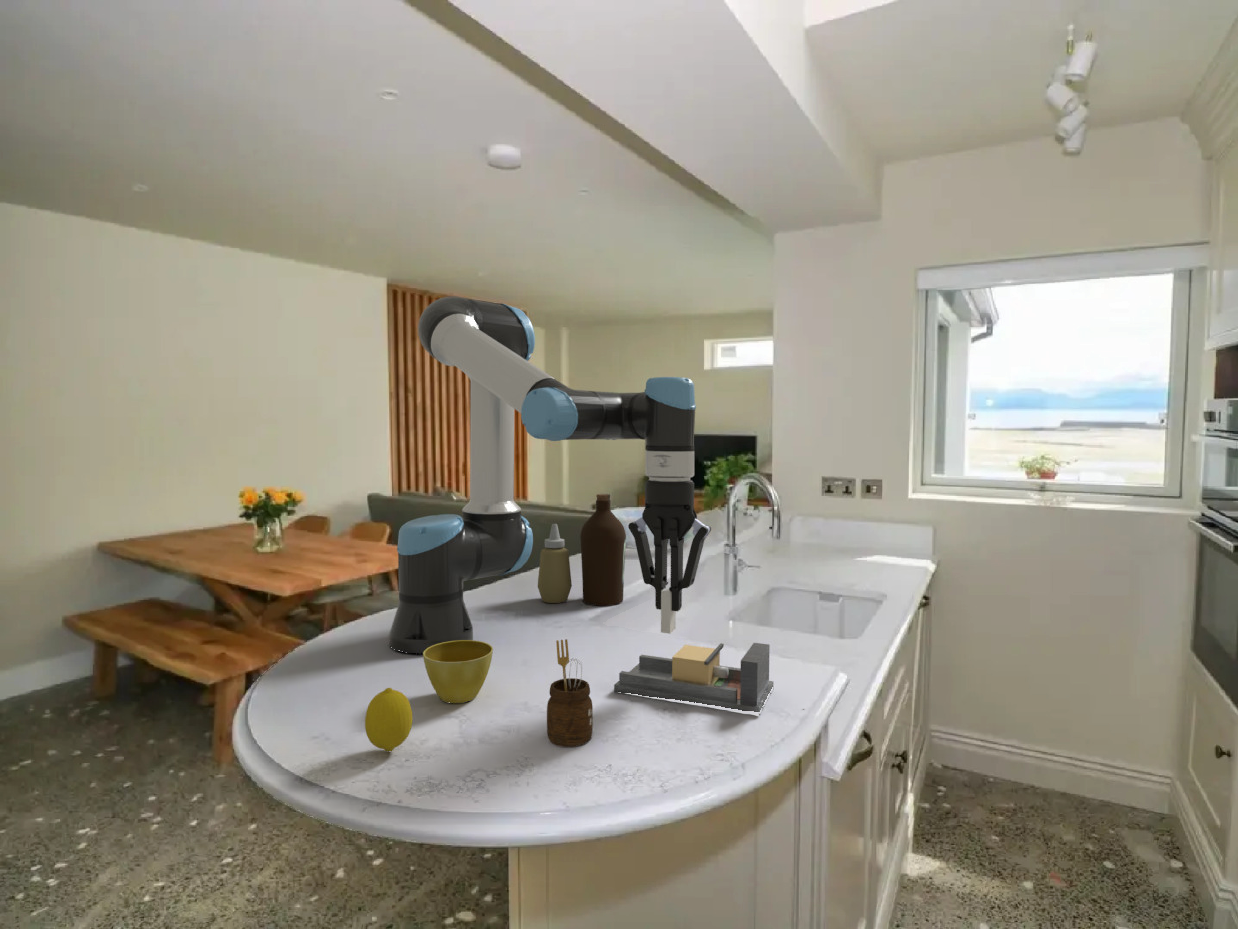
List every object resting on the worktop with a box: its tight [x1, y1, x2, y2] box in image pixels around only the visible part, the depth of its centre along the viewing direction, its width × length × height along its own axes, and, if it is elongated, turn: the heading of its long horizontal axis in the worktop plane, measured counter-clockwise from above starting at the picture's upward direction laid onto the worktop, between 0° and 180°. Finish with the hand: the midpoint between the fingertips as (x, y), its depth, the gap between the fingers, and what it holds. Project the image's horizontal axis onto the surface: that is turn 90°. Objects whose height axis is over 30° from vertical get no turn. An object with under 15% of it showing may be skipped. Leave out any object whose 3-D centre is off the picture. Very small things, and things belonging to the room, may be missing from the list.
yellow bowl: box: [422, 639, 494, 704], centre depth 101 cm, size 10×10×7 cm
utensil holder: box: [546, 638, 594, 748], centre depth 88 cm, size 6×6×12 cm
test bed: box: [613, 642, 774, 712], centre depth 104 cm, size 22×11×7 cm, turn 67°
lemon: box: [364, 687, 413, 752], centre depth 84 cm, size 6×6×8 cm
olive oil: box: [579, 493, 627, 607], centre depth 159 cm, size 11×11×25 cm
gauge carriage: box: [671, 642, 729, 685], centre depth 104 cm, size 8×9×5 cm
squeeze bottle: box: [537, 523, 573, 604], centre depth 159 cm, size 8×8×18 cm
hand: (668, 630), depth 106 cm, fingers closed
